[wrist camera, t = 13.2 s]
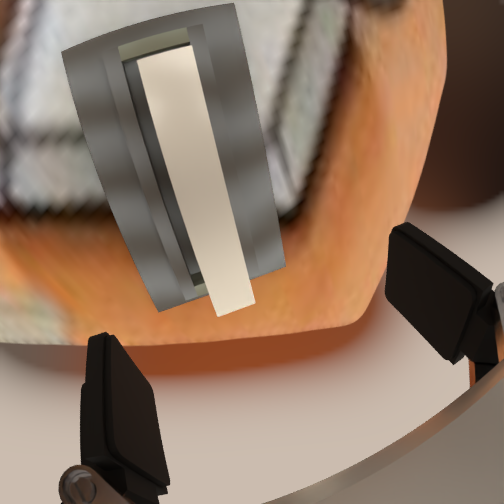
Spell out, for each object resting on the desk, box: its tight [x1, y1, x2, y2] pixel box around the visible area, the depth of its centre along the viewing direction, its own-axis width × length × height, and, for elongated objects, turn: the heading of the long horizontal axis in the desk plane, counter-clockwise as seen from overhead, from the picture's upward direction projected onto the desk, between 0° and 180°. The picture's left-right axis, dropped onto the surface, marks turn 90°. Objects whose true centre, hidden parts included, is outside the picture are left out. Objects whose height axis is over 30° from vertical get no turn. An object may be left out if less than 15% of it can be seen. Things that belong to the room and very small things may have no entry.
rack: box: [61, 3, 286, 312], centre depth 25 cm, size 26×14×3 cm, turn 12°
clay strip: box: [137, 45, 255, 317], centre depth 22 cm, size 18×3×8 cm, turn 12°
